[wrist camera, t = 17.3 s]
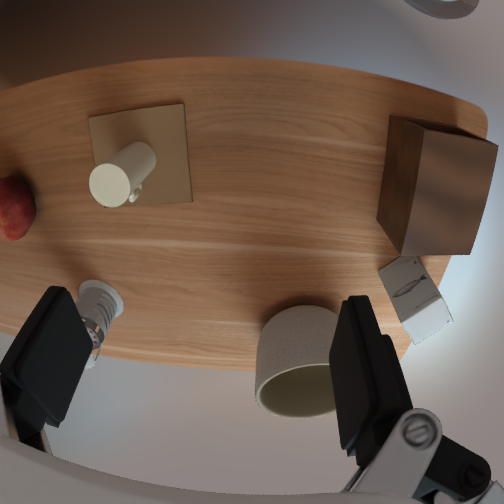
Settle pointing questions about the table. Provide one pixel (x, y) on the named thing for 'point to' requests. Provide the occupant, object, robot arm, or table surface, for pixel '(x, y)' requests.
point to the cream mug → (122, 175)
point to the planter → (296, 363)
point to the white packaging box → (415, 298)
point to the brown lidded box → (434, 187)
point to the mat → (159, 139)
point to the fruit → (15, 208)
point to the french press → (98, 311)
